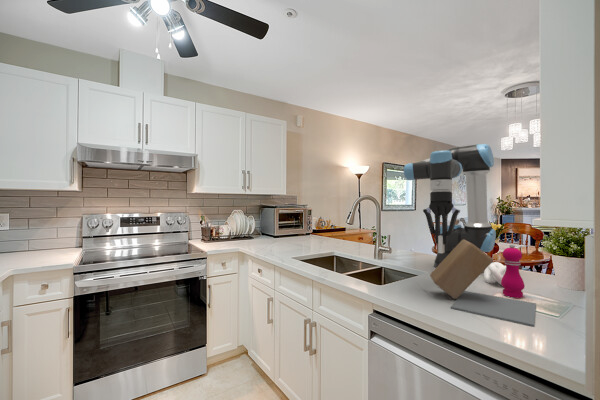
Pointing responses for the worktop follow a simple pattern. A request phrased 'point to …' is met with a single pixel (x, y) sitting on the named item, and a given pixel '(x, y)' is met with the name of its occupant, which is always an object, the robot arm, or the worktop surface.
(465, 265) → the block
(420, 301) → the worktop surface
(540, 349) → the worktop surface
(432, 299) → the worktop surface
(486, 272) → the white decorative knot
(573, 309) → the worktop surface
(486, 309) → the mat
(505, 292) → the pepper mill
